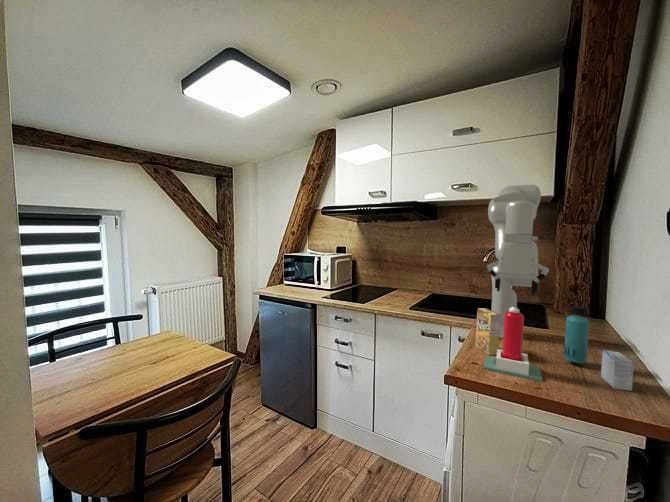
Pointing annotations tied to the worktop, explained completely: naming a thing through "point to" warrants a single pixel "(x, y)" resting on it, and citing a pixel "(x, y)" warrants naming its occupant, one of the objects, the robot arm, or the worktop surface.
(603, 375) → the medicine box
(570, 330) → the beverage bottle
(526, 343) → the worktop surface
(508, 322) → the bottle
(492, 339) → the candy box
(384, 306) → the worktop surface
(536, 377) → the board
